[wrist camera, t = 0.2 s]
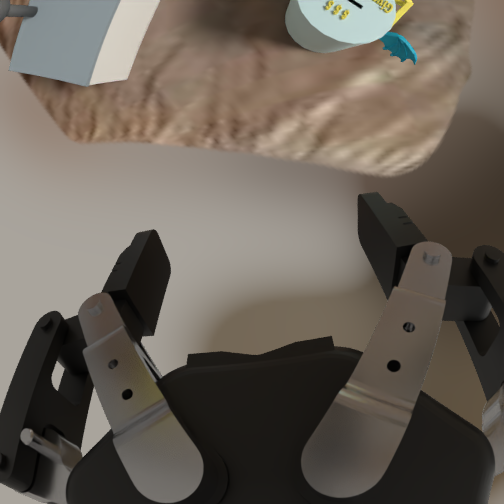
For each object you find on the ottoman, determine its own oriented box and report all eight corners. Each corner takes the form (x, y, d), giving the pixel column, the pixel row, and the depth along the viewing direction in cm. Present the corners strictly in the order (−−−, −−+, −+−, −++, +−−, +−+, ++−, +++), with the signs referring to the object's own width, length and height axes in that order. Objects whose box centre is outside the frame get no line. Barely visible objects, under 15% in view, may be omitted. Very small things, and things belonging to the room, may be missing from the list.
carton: (170, -19, 25) (142, -42, 16) (127, 79, 32) (89, 85, 24) (92, -28, 22) (53, -42, 14) (56, 63, 30) (12, 69, 21)
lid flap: (143, -43, 16) (103, -72, 9) (88, 86, 24) (34, 98, 16) (51, -43, 14) (3, -55, 6) (10, 69, 21) (-43, 82, 14)
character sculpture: (409, 30, 27) (466, 21, 16) (368, 90, 33) (416, 102, 21) (276, -51, 22) (282, -99, 11) (230, 12, 28) (215, -18, 16)
